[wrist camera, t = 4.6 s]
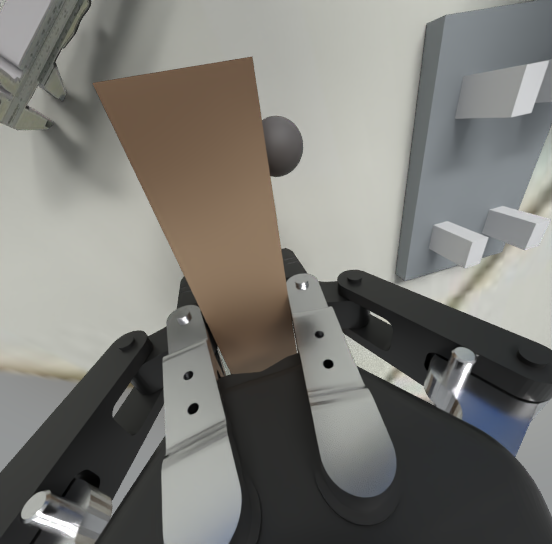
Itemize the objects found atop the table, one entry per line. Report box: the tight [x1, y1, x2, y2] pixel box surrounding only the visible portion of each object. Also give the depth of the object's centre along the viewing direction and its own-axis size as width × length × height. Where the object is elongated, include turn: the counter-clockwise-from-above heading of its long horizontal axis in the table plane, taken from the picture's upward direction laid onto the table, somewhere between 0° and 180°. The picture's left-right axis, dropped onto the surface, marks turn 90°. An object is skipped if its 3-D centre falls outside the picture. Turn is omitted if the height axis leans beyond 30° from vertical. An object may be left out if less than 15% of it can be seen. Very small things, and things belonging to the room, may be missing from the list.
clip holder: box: [396, 0, 552, 281], centre depth 20 cm, size 20×12×6 cm, turn 9°
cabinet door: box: [93, 57, 303, 374], centre depth 13 cm, size 16×4×8 cm, turn 9°
